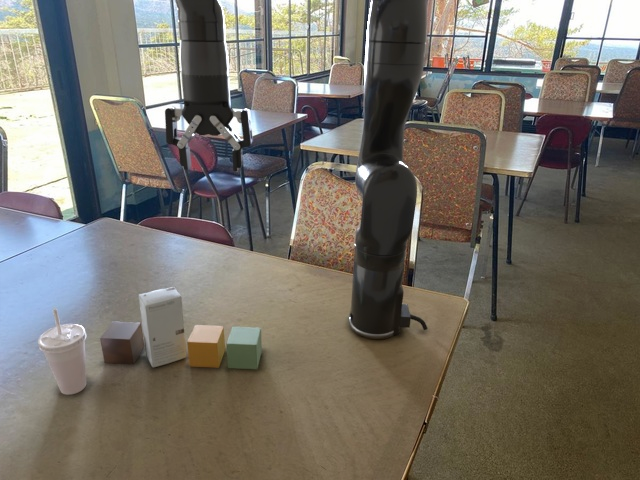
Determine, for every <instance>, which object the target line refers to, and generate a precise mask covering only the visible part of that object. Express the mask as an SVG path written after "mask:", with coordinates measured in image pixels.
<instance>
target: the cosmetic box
mask: <svg viewBox="0 0 640 480" xmlns="http://www.w3.org/2000/svg"><path fill="white" fill-rule="evenodd" d="M138 301H139V308H140V317H141V326H142V333H143V340H144V348H145V356H146V358H147V359H148V362H149V364H150V365H151V367H152V368H156V367H160V366H164V365H168V364H170V363H173V362H177V361H180V360H183V359H185V358H186V357H187V355H188V354H187V345H186V344H187V343H186V332H185V325H184V324H185V323H184V321H185V320H184V311H183V310H184V309H183V297H182V296H181V294H180V292H178V290H177V289H176V288H175V286H171V287H167V288H160V289H156V290H152V291H149V292H144V293H139V294H138Z"/></svg>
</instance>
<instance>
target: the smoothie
mask: <svg viewBox="0 0 640 480" xmlns="http://www.w3.org/2000/svg"><path fill="white" fill-rule="evenodd" d="M52 313H53V317H54V318H53V319H54V322H55V323H54V324H55V326H53V327H51V328H49V329H47V330H45V331H44V332H43V333H41V335H40V336H39V337H38V339H37V343H38V348H39V350H40V351H41V352H43V354H44V357H45V358H46V362H47V363H48V366H49V368H50V371H51V372H52V375H53V377H54V379H55V382H56V384H57V386H58V389H59V391H60V394H63V395H65V396H66V395H67V396H69V395H70V396H71V395H74V394H75V395H76V394H78V393H80V392H82V391H83V390H84V389H85V388H86V387H87V368H86V367H87V366H86V344H85V341H86V339H87V333H86V329H85V328H84V326H83V325H80V324H77V323H76V324H75V323H65V324H61V322H60V317H59V313H58V309H57V307H53V308H52Z"/></svg>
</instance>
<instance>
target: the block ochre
mask: <svg viewBox="0 0 640 480" xmlns="http://www.w3.org/2000/svg"><path fill="white" fill-rule="evenodd" d="M225 339H226V338H225V326H223V325H205V324H204V325H203V324H201V325H200V324H195V325H194V326H193V329H192V331H191V333H190V335H189V337H188V339H187V342H186V344H187V345H186V346H187V355H188V365H189V367H193V368H194V367H197V368H217V369H218V368H220V365H221V363H222V360H223V357H224V354H225V352H226V340H225Z"/></svg>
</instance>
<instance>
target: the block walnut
mask: <svg viewBox="0 0 640 480" xmlns="http://www.w3.org/2000/svg"><path fill="white" fill-rule="evenodd" d="M99 341H100V346H101V351H102V356H103V361H104V363H105V364H126V365H133V364H135V362H137V361H136V360H137V359H138V357H139V356H140V354H141V352H142V351H143V350H144V348H145V342H144V334H143V326H142V322H133V321H132V322H131V321H129V322H128V321H112V322H111V323H110V324H109V325H108V327H107V328H106V329H105V331H104V332H103V333H102V335H101V336H100V337H99Z"/></svg>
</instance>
